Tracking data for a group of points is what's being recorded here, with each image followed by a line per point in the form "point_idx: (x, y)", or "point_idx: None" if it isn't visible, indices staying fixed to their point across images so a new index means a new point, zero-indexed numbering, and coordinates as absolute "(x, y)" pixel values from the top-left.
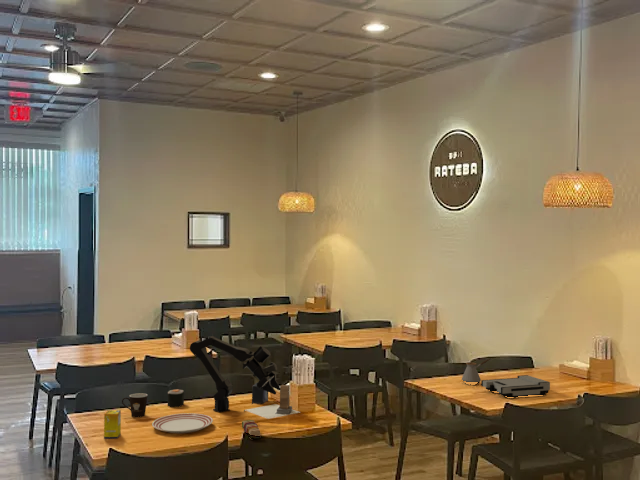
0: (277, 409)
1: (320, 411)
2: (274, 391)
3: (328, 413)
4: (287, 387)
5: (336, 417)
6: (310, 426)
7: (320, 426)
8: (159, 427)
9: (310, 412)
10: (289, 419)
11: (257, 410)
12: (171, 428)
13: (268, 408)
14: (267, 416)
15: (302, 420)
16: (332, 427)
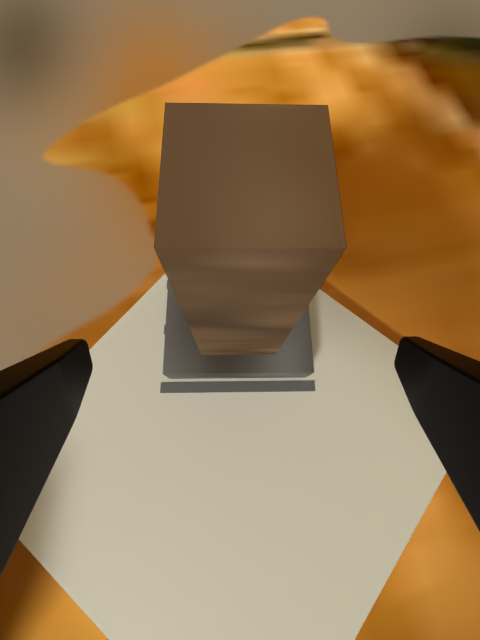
0: (311, 367)
1: (117, 135)
2: (456, 359)
3: (158, 93)
4: (323, 122)
5: (235, 54)
6: (454, 139)
7: (431, 98)
8: None
9: (151, 183)
10: (357, 272)
11: (243, 606)
12: None
13: (147, 505)
14: (415, 433)
15: (352, 195)
16: (424, 52)
